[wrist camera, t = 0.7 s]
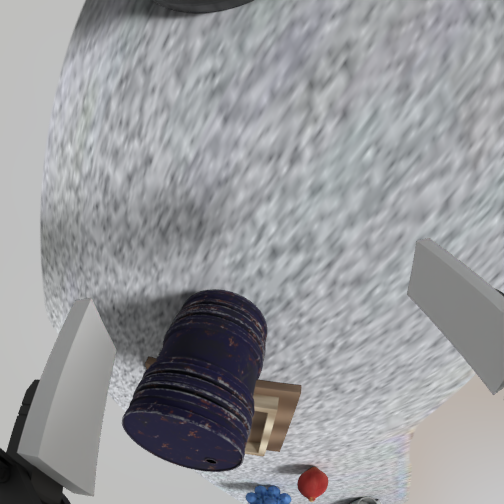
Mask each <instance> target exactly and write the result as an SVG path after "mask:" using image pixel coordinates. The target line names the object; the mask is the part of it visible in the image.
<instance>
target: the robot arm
mask: <svg viewBox="0 0 504 504" xmlns="http://www.w3.org/2000/svg"><path fill="white" fill-rule="evenodd" d="M152 1H153V2H155V3H157V4H158V5H160V6H163V7H165V8H168V9H172V10H176V11H182V12H195V13H200V12H213V11H220V10H225V9H229V8H233V7H237V6H240V5H243V4H246V3H248V2H251V1H253V0H152ZM407 295H408V296H409V297H410V298H411V299H412V300H413V301H414V302H415V303H416V304H417V305H418V306H419V307H420V309H421V310H422V311H423V312H424V313H425V314H426V315H427V316H428V317H429V318H430V320H431V321H432V322H433V323H434V324H435V325H436V326H437V327H438V329H439V330H440V331H441V332H442V333H443V334H444V335H445V336H446V338H447V339H448V340H449V341H450V342H451V343H452V345H453V346H454V347H455V348H456V349H457V350H458V352H459V353H460V354H461V355H462V356H463V358H464V359H465V360H466V361H467V363H468V364H469V365H470V366H471V367H472V369H473V370H474V371H475V372H476V374H477V375H478V376H479V377H480V378H481V380H482V381H483V382H484V384H485V385H486V386H487V388H488V389H489V390H490V391H491V393H492V394H493V395H494V394H496V393H497V392H498V391H499V390H501V389H502V388H503V387H504V293H502V292H501V291H499V290H497V289H495V288H493V287H492V286H491V285H490V284H488V283H487V282H486V281H485V280H484V279H482V278H481V277H480V276H479V275H477V274H476V273H475V272H474V271H472V270H471V269H470V268H469V267H467V266H466V265H465V264H464V263H462V262H461V261H460V260H458V259H457V258H456V257H454V256H453V255H452V254H450V253H449V252H448V251H446V250H445V249H444V248H442V247H441V246H440V245H438V244H437V243H435V242H434V241H433V240H431V239H430V238H427V239H423V240H418V241H416V248H415V254H414V260H413V266H412V271H411V277H410V282H409V287H408V291H407ZM116 352H117V350H116V348H115V346H114V344H113V342H112V340H111V338H110V336H109V334H108V332H107V330H106V328H105V326H104V324H103V322H102V320H101V317H100V315H99V313H98V311H97V309H96V306H95V304H94V302H93V300H92V298H88V299H81V300H75V302H74V304H73V306H72V308H71V310H70V312H69V314H68V316H67V318H66V320H65V323H64V325H63V327H62V329H61V331H60V333H59V336H58V338H57V340H56V342H55V345H54V347H53V349H52V352H51V354H50V356H49V359H48V361H47V364H46V366H45V369H44V371H43V374H42V376H41V379H40V380H34V382H33V383H32V384H31V385H30V387H29V388H28V389H27V391H26V393H25V396H24V399H23V401H22V406H21V407H20V410H19V413H18V414H19V416H17V419H16V422H15V425H14V428H13V431H12V435H11V438H10V442H9V445H8V448H7V452H4V451H3V450H2V449H1V448H0V504H70V502H69V500H68V499H67V498H66V496H65V495H64V494H63V493H62V491H63V487H65V488H66V489H68V490H70V491H71V492H73V493H76V494H82V495H88V496H94V487H95V476H96V466H97V457H98V449H99V442H100V435H101V429H102V422H103V416H104V410H105V404H106V399H107V394H108V389H109V384H110V379H111V374H112V369H113V365H114V360H115V356H116Z"/></svg>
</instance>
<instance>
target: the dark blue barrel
mask: <svg viewBox="0 0 504 504" xmlns="http://www.w3.org/2000/svg"><path fill="white" fill-rule="evenodd" d="M266 337H267V324H266V321H265V318H264V316H263V314H262V313H261V311H260V310H259V309H258V308H257V307H256V306H255V305H254V304H253V303H252V302H251V301H249V300H248V299H246V298H244V297H242V296H240V295H238V294H236V293H233V292H230V291H225V290H206V291H201V292H199V293H196V294H195V295H193V296H191V297H190V298H189V299H188V300H187V301H186V302H185V304H184V305H183V307H182V309H181V311H180V313H179V314H178V315H177V316H176V317H175V319H174V321H173V322H172V324H171V326H170V328H169V329H168V331H167V332H166V335H165V338H164V341H163V348H162V350H161V352H160V354H159V356H158V358H157V359H156V361H155V362H154V363H153V364H151V365H150V367H149V368H148V369H147V370H146V371H145V373H144V375H143V379H142V380H141V381H140V383H139V384H138V386H137V388H136V390H135V392H134V395H133V399H132V401H131V403H130V406H129V408H128V409H127V411H126V412H125V414H124V416H123V419H122V425H123V428H124V430H125V431H126V433H127V434H128V435H129V436H130V438H131V439H132V440H133V441H135V442H136V443H137V444H138V445H139V446H141V447H142V448H144V449H145V450H147V451H148V452H150V453H152V454H154V455H155V456H157V457H159V458H161V459H163V460H166V461H168V462H171V463H173V464H176V465H179V466H183V467H186V468H190V469H195V470H201V471H210V472H222V471H229V470H233V469H236V468H237V467H239V466H240V465H241V464H242V463H243V459H244V455H245V448H246V444H247V440H248V437H249V435H250V432H251V427H252V418H253V416H254V412H255V409H254V399H253V395H254V389H255V384H256V381H257V380H258V378H259V376H260V373H261V371H262V367H263V360H264V356H265V341H266Z"/></svg>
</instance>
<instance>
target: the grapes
mask: <svg viewBox="0 0 504 504" xmlns="http://www.w3.org/2000/svg"><path fill="white" fill-rule="evenodd" d="M255 493H256V494H255ZM255 493H253V492H250V493H247V495H246V500H247V501H248V502H249V503H250V504H289V503H290V502H291V497H290V496H289V495H288V494H286V493H282V494H280V490H279V489H278V487H276V486H271V487H269V488H268V490H267V489H266V488H265V487H264V486H261V485H260V486H257V487H256V488H255Z"/></svg>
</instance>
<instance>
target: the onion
mask: <svg viewBox="0 0 504 504" xmlns="http://www.w3.org/2000/svg"><path fill="white" fill-rule="evenodd" d="M327 486H328V477H327V476H326V474H325V473H323V472H322V471H320V470H319V469H318V468H316V467H312V468H310V469H308V470H307V471H305V472H304V473H303V474H301V476H300V477H299V480H298V490H299V491H300V493H301V494H302V495H303V496H305V497H306V498H308V499H309V501H311V502H313V501H314V500H315V498H317V497H319V496H320V495H322V494H323V493H324V492H325V490H326V489H327Z"/></svg>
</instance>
